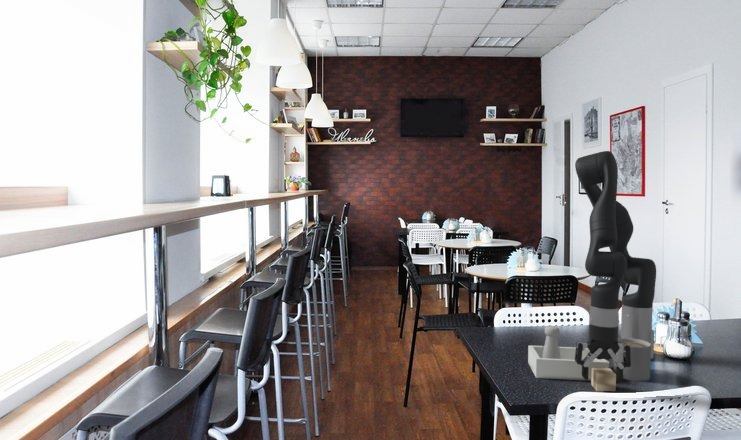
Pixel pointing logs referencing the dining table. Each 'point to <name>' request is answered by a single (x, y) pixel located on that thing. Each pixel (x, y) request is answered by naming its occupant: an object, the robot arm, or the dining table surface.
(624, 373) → the coffee mug
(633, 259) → the robot arm
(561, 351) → the tray
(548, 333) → the salt shaker
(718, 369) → the dining table surface
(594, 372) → the beech cube
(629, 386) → the dining table surface
